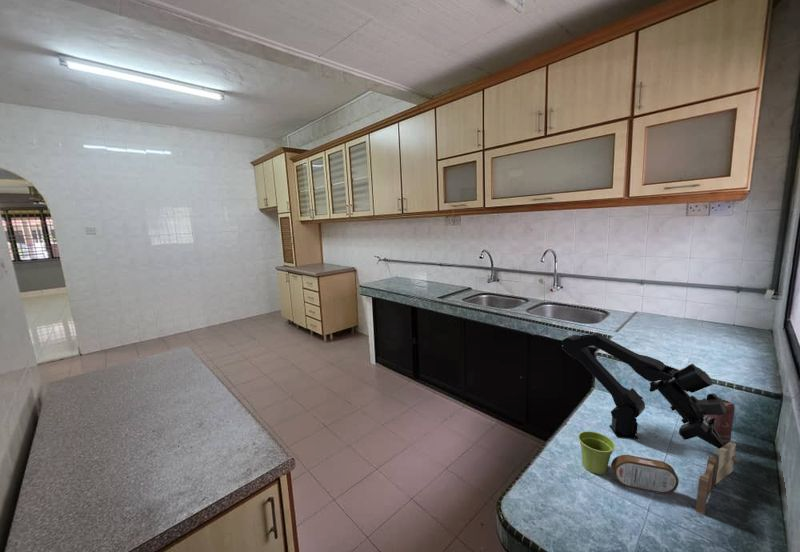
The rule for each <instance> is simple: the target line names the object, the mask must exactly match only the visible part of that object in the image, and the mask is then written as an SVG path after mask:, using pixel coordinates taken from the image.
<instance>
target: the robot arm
mask: <svg viewBox="0 0 800 552" xmlns="http://www.w3.org/2000/svg"><path fill="white" fill-rule="evenodd" d="M593 346H594V347H595V348H597V349H599V350H600V351H602V352H605V353H607V354H609V355H610V356H612V357H613V358H614V359H617V360H618V361H621V362H622V363H624V364H627V365H628V366H629V367H631V369H633V371H634V372H635V374H637V375H639V376H640V377H642V378H643V379H644V380H646V381H648V382H650V383H649V392H650V393H652V392H655V391H658V392H659V393H660V394H661V395H662V397H663V398H664V399H665V400H666V401H667V402H668V403H669V405H670V409H671V411H675V412H677V414H678V415H679V416H680V417H681V420H680V421H681V422H682V423H683V424H681V426H680V428H679V431H678V434H679V435H680V437H681V438H682V439H683V440H685V441H686V440H687V441H688V440H690V439H693V438H696V437H697V438H699V439H701V440H703V441H704V442H707V443H708V444H710V445H711V446H713V447H715V448H717V450H719V449H720V448H721V447H723V446H724V443H723V442H722V440H721V438H720V436H719V434H718V433H717V431H716V429H715V421H716V418H714V419H711V420H710V419H709V418H707V415H725V412H726V411H727V410H726V408H725V406H724V401H723V400H724V399H722V397H718V396H717V394H715V393H708V394H707V396H706V398H703V399H698V398H697V397H696V396H695V395H689V394H688V392H689V393H691V394H693V393H695V392H699V391H700V390H704V389H706V388H708V387H711V386H713V385H714V382H713V380H712V378H711V377H710V375H709V374H708V373H707V372H706V371H704V370H703V369H701V368H700V367H697V366H696V365H695V364H694V363H691V364H688V365H687V366H685V367H684V368H680V369H678V368H675V367H672V366H671V365H670V366H669V365H667V364H665V363H664V362H662V361H661V360H659V359H657V358H654V357H651V356H648V355H644V354H639V353H638V352H634V351H632V350H630V349H629V348H627V347H625V346H623V345H621V344H619V343H618V342H615V341H613V340H611V339H610V338H607V337H606V336H603V335H602V334H601V333H600V332H592V333H588V334H583V335H579V334H572V335H570V336H568V337H565V338H563V340H562V341H561V348H562V350H563V351H564V352H565V353H566V354H567V355H569V356H570V357H572V358H573V359H576V360H578V361H579V362H580V363H581V364H582V365H583V366H584V367H585V368H586V369H587V370H588V371H589V373H591V375H592V376H593V377H594V378H595V379H596V380H597V381H598V382H599V383H600V384H601V385H602V387H604V389H605V390H606V391H607V392H608V393H609V394H610V395H611V397H612V400H613V403H614V405H615V407H614V408H613V409H612V410H611V411H610V414H611V424H609V425H608V427H609V429H610V430H611V429H612V430H611V432H612V433H613V434H614V435H615V436H616V437H618V438H623V439H624V438H625V439H637V440H638V436H637V434H638V427H639V423H638V422H637V420H638V419H637V418H638V417H639V416H640V415H641V414H642V413H643V411H645V409H646V403H645V401H644V400H643V399H644V397H643V396H642V395H640V394H638V392H637V391H636V390H635V389H634V388H633V387H632V388H630V389H628V388H626V387H625V386H623V385H622V384H621V383H620V382H619V381H618V380H617V379H616V378H615V377H614V376H613V375H612V374H611V373H610V371H608V369H606V368H605V367H604V365H603V364H602V363H601V362H600V361H599V360H598V359H597V358H596V357H595V356H594V355H593V354H592V353H591V350H590V348H589V347H593Z"/></svg>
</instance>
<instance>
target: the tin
mask: <svg viewBox="0 0 800 552" xmlns="http://www.w3.org/2000/svg"><path fill="white" fill-rule="evenodd" d="M610 467H611V472H612V473H613V476H614V478H615V479H616V480H617V481H618V482H619V484H622V485H623V486H626V487H629V488H633V489H638V490H642V491H647V492H651V493H657V494H671V493H673V492H674V491H676V490H677V488H678V486H679V484H680V483H679V481H680V480H679V477H678V475H677V474H676V471H675V470H674V468H673V467H672V466H671V465H670V464H669V463H667V462H665V461H662V460H659V459H652V458H647V457H642V456H635V455H631V454H621V455H617V456H615V457H614V458H613V459H612V461H611V463H610Z"/></svg>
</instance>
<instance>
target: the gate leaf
mask: <svg viewBox="0 0 800 552" xmlns="http://www.w3.org/2000/svg"><path fill="white" fill-rule="evenodd" d="M736 447H737V443H735V442H734V441H731V440H730V442H729V443H727V444H726V445H724V446H723V447H721V448H720V449H717V450H715V451H714V452H713V453H712V452H710V453H708V458H709V457H711V458H714V459H717V465H716V472H715V480H714V488H716V486H717V484H718V483H719V482H721V481H722V480H723V479H725V478H726V477H727V476H729V475H730V474H731V473H732V472H733V470H734V462H735V463H738V462H739V461H740V458H739V457H738V456H735V455H736ZM714 488H713V489H714Z"/></svg>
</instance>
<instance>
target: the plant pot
mask: <svg viewBox="0 0 800 552" xmlns="http://www.w3.org/2000/svg"><path fill="white" fill-rule="evenodd" d="M577 438H578V441H579V444H580V450H581V461H582V466H583V468H584V469H586V470H587V471H589V472H590V473H594V474H598V475H604V474H605V473H606V472H607V469H608V467H609V463H610V459H611V455H612V453H613V452H614V451H615V449H616V444H615V442H614V440H612V439H611V438H609V437H608V436H606V435H605V434H603V433H600V432H596V431H591V430H585V431H582V432H579V433H578V436H577Z"/></svg>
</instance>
